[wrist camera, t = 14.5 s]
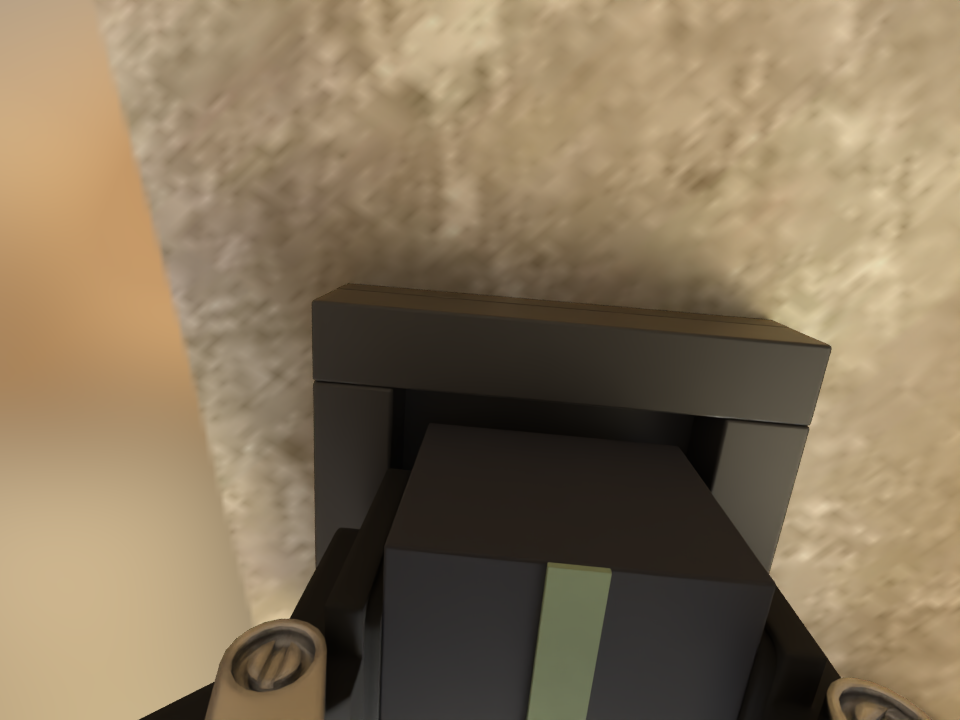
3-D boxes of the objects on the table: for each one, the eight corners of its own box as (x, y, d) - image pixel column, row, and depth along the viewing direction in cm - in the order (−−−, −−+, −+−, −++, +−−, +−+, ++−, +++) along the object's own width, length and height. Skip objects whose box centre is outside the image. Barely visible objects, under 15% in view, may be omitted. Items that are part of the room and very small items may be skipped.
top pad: (428, 421, 11) (381, 550, 7) (679, 444, 10) (783, 590, 6) (418, 623, 12) (373, 827, 8) (637, 646, 12) (702, 865, 8)
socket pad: (347, 282, 12) (310, 300, 10) (772, 319, 12) (834, 345, 9) (344, 624, 15) (316, 698, 12) (690, 661, 14) (723, 743, 12)
